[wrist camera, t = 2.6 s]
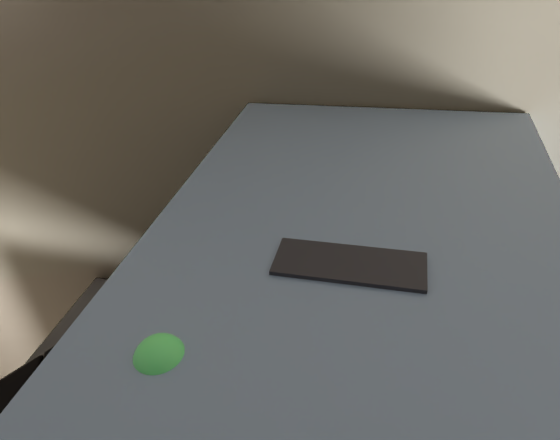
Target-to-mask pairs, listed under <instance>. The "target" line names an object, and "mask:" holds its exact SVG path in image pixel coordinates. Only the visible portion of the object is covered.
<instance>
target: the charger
mask: <svg viewBox="0 0 560 440" xmlns="http://www.w3.org/2000/svg"><path fill="white" fill-rule="evenodd" d="M0 440H560V179H559V177H558V175H557V173H556V171H555V168H554V166H553V164H552V162H551V160H550V158H549V155H548V153H547V151H546V149H545V147H544V145H543V142H542V140H541V138H540V136H539V134H538V132H537V129H536V127H535V125H534V123H533V121H532V119H531V116H530V114H529V113H503V112H476V111H450V110H423V109H396V108H370V107H343V106H317V105H290V104H264V103H248V104H247V105H246V107H245V108H244V109H243V110H242V112H241V113H240V114H239V115H238V117H237V118H236V119H235V120H234V122H233V123H232V124H231V125H230V127H229V128H228V129H227V130H226V132H225V133H224V134H223V135H222V137H221V138H220V139H219V140H218V142H217V143H216V144H215V145H214V147H213V148H212V149H211V150H210V152H209V153H208V154H207V155H206V157H205V158H204V159H203V160H202V162H201V163H200V164H199V166H198V167H197V168H196V169H195V171H194V172H193V173H192V174H191V176H190V177H189V178H188V179H187V181H186V182H185V183H184V184H183V186H182V187H181V188H180V189H179V191H178V192H177V193H176V194H175V196H174V197H173V198H172V199H171V201H170V202H169V203H168V204H167V206H166V207H165V208H164V209H163V211H162V212H161V213H160V214H159V216H158V217H157V218H156V219H155V221H154V222H153V223H152V224H151V226H150V227H149V228H148V229H147V231H146V232H145V233H144V234H143V236H142V237H141V238H140V239H139V241H138V242H137V243H136V244H135V246H134V247H133V248H132V249H131V251H130V252H129V253H128V255H127V256H126V257H125V258H124V260H123V261H122V262H121V263H120V265H119V266H118V267H117V268H116V270H115V271H114V272H113V273H112V275H111V276H110V277H109V278H108V280H107V281H106V282H105V283H104V285H103V286H102V287H101V288H100V290H99V291H98V292H97V293H96V295H95V296H94V297H93V298H92V300H91V301H90V302H89V303H88V305H87V306H86V307H85V308H84V310H83V311H82V312H81V313H80V315H79V316H78V317H77V318H76V320H75V321H74V322H73V323H72V325H71V326H70V327H69V328H68V330H67V331H66V332H65V333H64V335H63V336H62V337H61V339H60V340H59V341H58V342H57V344H56V345H55V346H54V347H53V349H52V350H51V351H50V352H49V354H48V355H47V356H46V357H45V359H44V360H43V361H42V362H41V364H40V365H39V366H38V367H37V369H36V370H35V371H34V372H33V374H32V375H31V376H30V377H29V379H28V380H27V381H26V382H25V384H24V385H23V386H22V387H21V389H20V390H19V391H18V392H17V394H16V395H15V396H14V397H13V399H12V400H11V401H10V402H9V404H8V405H7V406H6V407H5V409H4V410H3V411H2V412H1V414H0Z"/></svg>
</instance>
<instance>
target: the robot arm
mask: <svg viewBox="0 0 560 440" xmlns="http://www.w3.org/2000/svg"><path fill="white" fill-rule="evenodd" d="M54 346H55V345H54ZM54 346H53V347H54ZM53 347H51V348H49V349H48V350H46V351H45V352H44V354H43V355H38V356H37V357H35V358H34V359H32V360H31V361H29V362H28V363H26V364H24V365H23V366H21V367H20V368H18V369H17V370H15V371H13V372H12V373H10V374H8V375H7V376H5V377H4V378H2V379H0V414H1V412H2V411H3V410H4V409H5V407H6V406H7V405H8V404H9V402H10V401H11V400H12V399H13V397H14V396H15V395H16V394H17V392H18V391H19V390H20V389H21V387H22V386H23V385H24V384H25V382H26V381H27V380H28V379H29V377H30V376H31V375H32V374H33V372H34V371H35V370H36V369H37V367H38V366H39V365H40V364H41V362H42V361H43V360H44V359H45V357H46V356H47V355H48V354H49V352H50V351H51V350H52V349H53Z"/></svg>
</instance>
